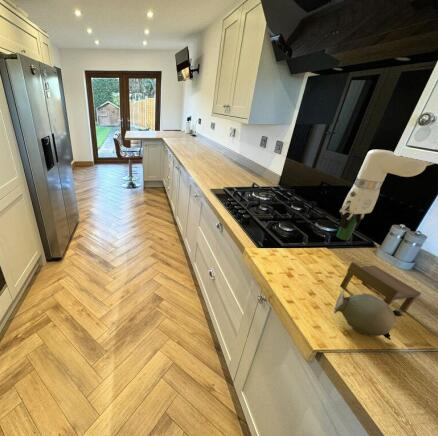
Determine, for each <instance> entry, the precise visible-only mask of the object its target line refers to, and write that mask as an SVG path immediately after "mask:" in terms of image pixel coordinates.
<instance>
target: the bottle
mask: <svg viewBox="0 0 438 436" xmlns="http://www.w3.org/2000/svg"><path fill="white" fill-rule="evenodd" d="M355 217H356V215H354V214H353V215H352V217H351V218H350V220H351V221H350V223H349V225H348V228H347V229H344V228H342V227H340V226H339V228H338V230H337V233H336V235H335V236H336V237H337V239H340V240H343V241H350V239H351V236H352V235H353V232H354V231H355V229H356V228H355V226H356V224H357V221H356V219H355Z"/></svg>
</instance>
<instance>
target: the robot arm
mask: <svg viewBox="0 0 438 436" xmlns="http://www.w3.org/2000/svg"><path fill="white" fill-rule="evenodd" d="M394 153H395V152H394V151H392V150H386V149H371V150H369V151H368V152H367V153H366V156H365V158H364V160H363V163H362V165H361V166H360V170H359V171H358V173H357V176H356V178H355V181H354V183H353V185H352V187H351V189H350V190H349V191H348V193H347V195H346V197H345V199H344V201H343V203H342V206H341V208H340V210H339V214H340V215H341V216H340V217H341V219H340V221H339V223H338V227H339V228H340V227H342V228H344V229H347V228H348V225H349V223H350V221H351V220H350V218H351V217H352V215H353V214H354V215H356V217H355V219H356V221H357V224H356V226H355V228H354V229H357V228H358V227H359V225H360V224H361V221H362V220H363V219H364V217H365V216H366V215H367V214H371V213H372V212H373V210H374V209H375V205H376V203H377V201H378V198H379V195H380V191H381V187H382V185H383V183H384V181H385V180H386V179H385V178H386V177H387V174H392V175H396V176H399V177H405V178H409V177H414V176H417V175H419V174H422V173H423V172H424V171H425V170H426V168H427V167H428V166H432V165H435V164H436V163H430V162H426V161H422V160H416V159H412V158H407V157H401V156H394Z"/></svg>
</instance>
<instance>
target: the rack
mask: <svg viewBox="0 0 438 436" xmlns="http://www.w3.org/2000/svg"><path fill="white" fill-rule="evenodd" d="M353 277H355V278H356V279H357V280H359V281H361V284H362V285H363V284H364V285H363V286H368V287H369V288H371V289H372V290H374V291H375V292H377V293H378V294H380V295H381V296H383V297H384V299H383V301H384V302H385V303H387V304H388V305H389V306H391V304H392V303H393V301H397V300H404V299H405V300H404V301H403V302H402V304H401V305H400V306H399V308H398V309H399V311H401V312H402V313H403V312H407V311H408V310H409V308H410V307H411V305H412V304H413V303H414V302H415V300H416V299H417V298H418V297H420V296H421V294H422V292H420V291H418V289H415V288H414V287H412V286H410V285H409V284H407V283H405V282H403V281H402V280H400V279H398V278H396V277H395V276H393V275H391V274H389V273H388V272H386V270H385V271H384V270H383V269H381V268H380V267H379V266H376V265H365V266H361V265H358V264H357V263H355V262H351V263H350V264H349V267H348V268H347V270H346V274H345V276H344V278H343V280H342V281H341V283H340V285H339V287H340V288H341V289H342V290H343V289H344V290H345V289H347V288H348V286H349V284H350V282H351V281H352V278H353Z"/></svg>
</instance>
